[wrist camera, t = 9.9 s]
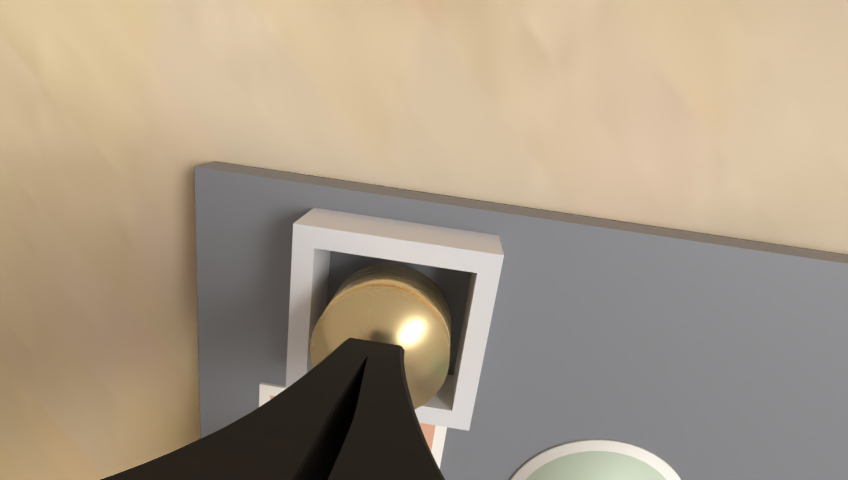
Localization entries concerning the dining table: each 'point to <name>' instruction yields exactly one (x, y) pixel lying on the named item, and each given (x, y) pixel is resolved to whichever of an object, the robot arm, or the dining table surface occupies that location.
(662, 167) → the dining table surface
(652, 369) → the board
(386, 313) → the button
